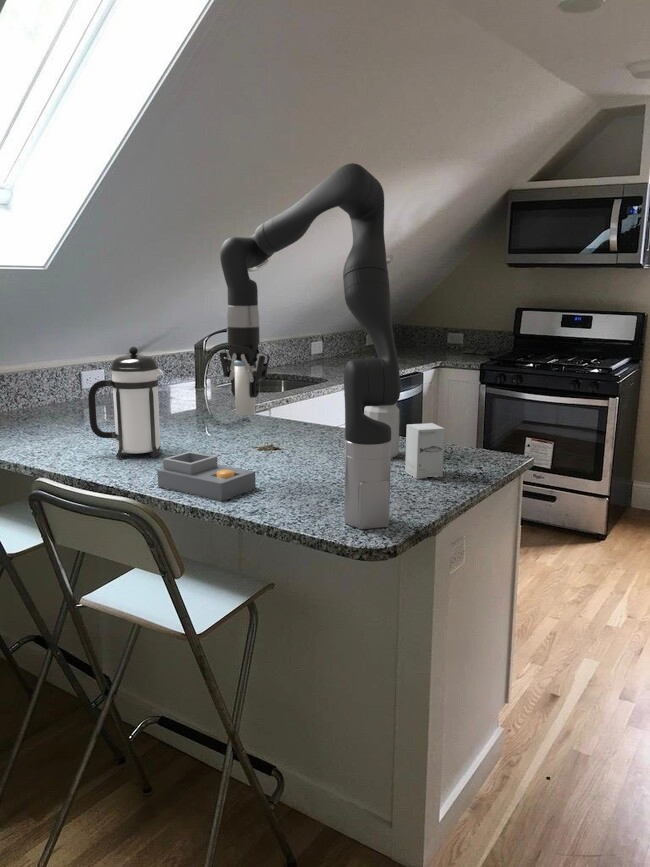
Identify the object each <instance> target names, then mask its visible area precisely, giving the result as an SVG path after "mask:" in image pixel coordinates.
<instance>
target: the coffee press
mask: <svg viewBox="0 0 650 867" xmlns="http://www.w3.org/2000/svg"><path fill="white" fill-rule="evenodd" d="M128 351H129V354H130V355H123V356H119V357H116V358H115V359H113V361H112V363H111V365H110V366H109V370H110V372H111V380H106V379H102V380H98V381H96V382H94V383H93V385H92V386H91V387H90V389H89V391H88V414H89V415H88V416H89V424H90V428H91V431H92V432H93V433H94V435H95V436H97V437H98V438H103V439H113V440H114V439H115V444H116V445H115V446H116V449H117V453H116V456H115V458H116V459H118V460H123V459H125V458H124V457H126V455H128V454H144V453H145V454H146V453H149V454H150V456H151V457H152V458H153V459H157V458H159V456H160V453H159V451H160V449H161V426H160V425H161V424H160V423H161V422H160V404H159V403H160V402H159V385H160V384H159V378H158V377H160V376H165V374H164V372H163V371H162V370H161V369H160V368H159V364H158V363H157V361H156V360H155V359H154V358H153V357H151V356H148V355H137V354H138V352H139V350H138V348H137V347H136V346H131V347H129V350H128ZM105 387H111V388H112V397H113V400H112V401H113V414H114V415H113V416H114V428H115V431H103V430H102V429H100V428H99V426H98V420H97V419H98V418H97V406H96V405H97V404H96V393H97V391H98V390H99V389H100V388H105Z"/></svg>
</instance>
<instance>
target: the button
mask: <svg viewBox="0 0 650 867" xmlns="http://www.w3.org/2000/svg"><path fill="white" fill-rule="evenodd" d="M217 477H219V478H224V479H228V478H231V477H234V471H232V470H220V471H217Z"/></svg>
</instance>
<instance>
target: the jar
mask: <svg viewBox="0 0 650 867" xmlns="http://www.w3.org/2000/svg"><path fill="white" fill-rule="evenodd" d="M363 408H364V409H363V411H364V412H363V413H364V414H365V415H366V416H368V417H370V418H372V419H374V420H377V421H380V422H383V423H386V424H388V425H389V426H390V427H391V458H392V459H394V458H396V457H397V456H398V454H399V447H400V446H399V445H400V444H399V443H400V408H399V407H398V402H397V403H396V404H394V405H389V406H364V407H363ZM395 456H396V457H395ZM393 457H394V458H393Z"/></svg>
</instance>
